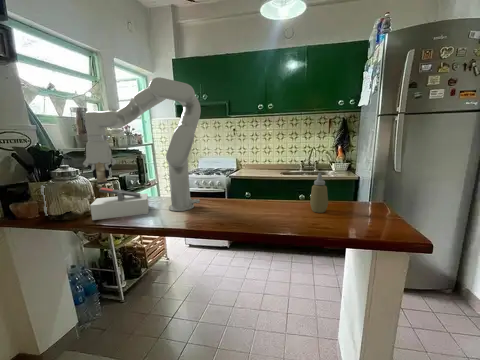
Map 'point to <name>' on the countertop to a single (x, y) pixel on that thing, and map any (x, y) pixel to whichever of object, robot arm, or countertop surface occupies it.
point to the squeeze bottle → (319, 195)
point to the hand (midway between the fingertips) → (101, 177)
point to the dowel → (101, 173)
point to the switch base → (119, 206)
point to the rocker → (107, 190)
